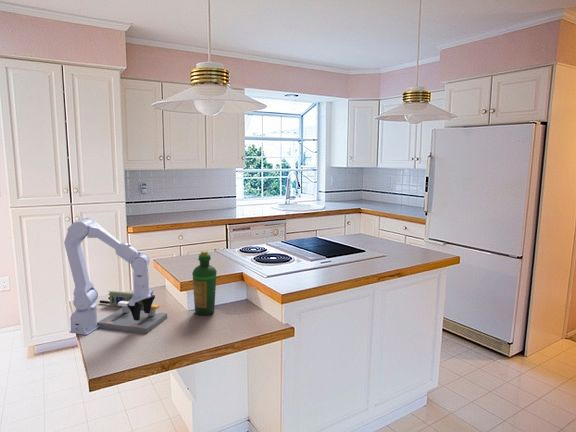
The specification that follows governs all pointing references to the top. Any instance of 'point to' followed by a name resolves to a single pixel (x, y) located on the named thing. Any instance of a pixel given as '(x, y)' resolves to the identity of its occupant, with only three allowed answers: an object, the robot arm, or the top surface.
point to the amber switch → (153, 309)
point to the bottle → (204, 285)
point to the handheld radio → (119, 298)
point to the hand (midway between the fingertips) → (142, 316)
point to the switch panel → (132, 321)
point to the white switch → (124, 306)
